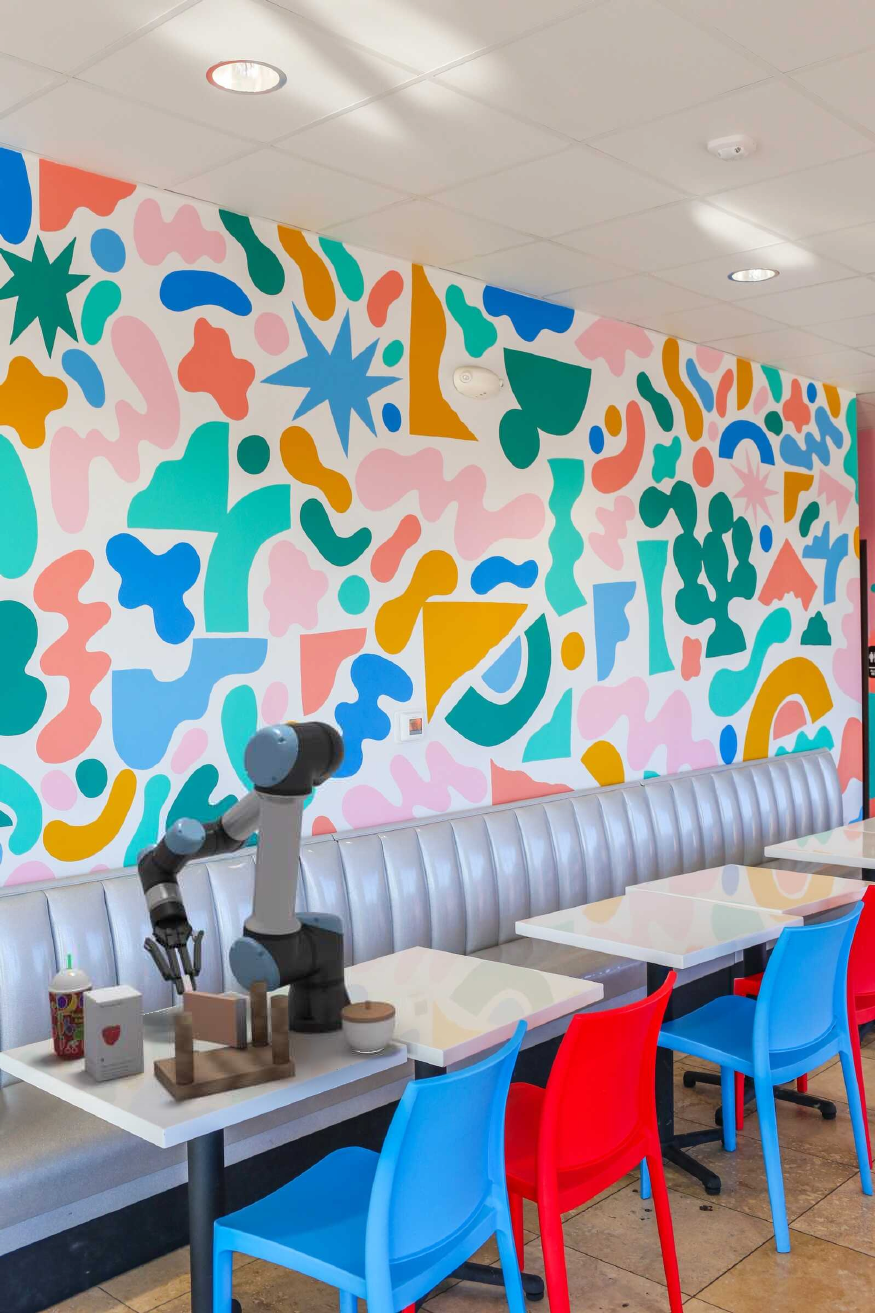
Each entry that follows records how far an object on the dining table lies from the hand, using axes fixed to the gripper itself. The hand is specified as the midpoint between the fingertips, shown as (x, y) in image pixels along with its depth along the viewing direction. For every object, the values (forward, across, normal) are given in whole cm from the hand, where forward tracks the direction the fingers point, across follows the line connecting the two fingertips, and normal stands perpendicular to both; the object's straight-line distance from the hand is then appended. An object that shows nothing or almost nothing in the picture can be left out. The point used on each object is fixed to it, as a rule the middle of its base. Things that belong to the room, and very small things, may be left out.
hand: (191, 1006), depth 236 cm
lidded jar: (+22, -29, +11) cm, 38 cm away
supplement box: (+11, +17, 0) cm, 20 cm away
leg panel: (+10, -2, +4) cm, 11 cm away
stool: (+20, 0, +10) cm, 23 cm away
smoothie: (+1, +22, -10) cm, 25 cm away
